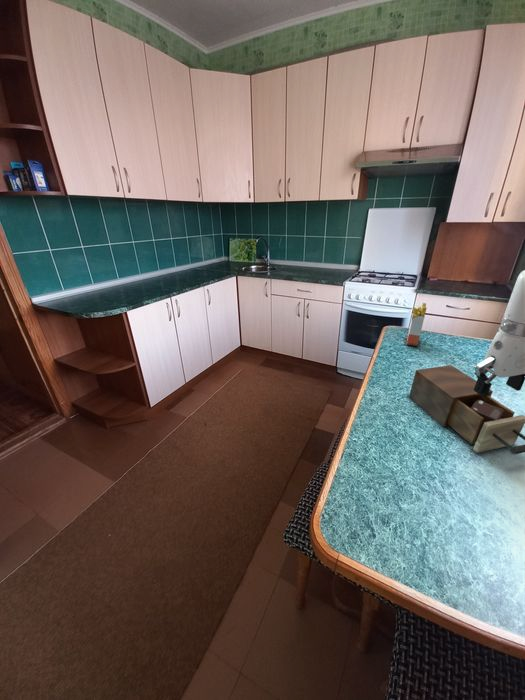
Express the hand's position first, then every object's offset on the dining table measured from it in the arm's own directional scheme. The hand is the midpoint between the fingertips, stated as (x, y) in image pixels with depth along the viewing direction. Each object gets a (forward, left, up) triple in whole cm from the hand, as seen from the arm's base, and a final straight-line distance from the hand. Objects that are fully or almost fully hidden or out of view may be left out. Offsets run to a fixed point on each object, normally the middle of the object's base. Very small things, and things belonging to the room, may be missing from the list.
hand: (496, 390), depth 72 cm
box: (+1, 0, -13) cm, 13 cm away
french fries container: (-20, -54, -15) cm, 59 cm away
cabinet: (+1, -12, -15) cm, 19 cm away
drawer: (+1, +2, -14) cm, 14 cm away
